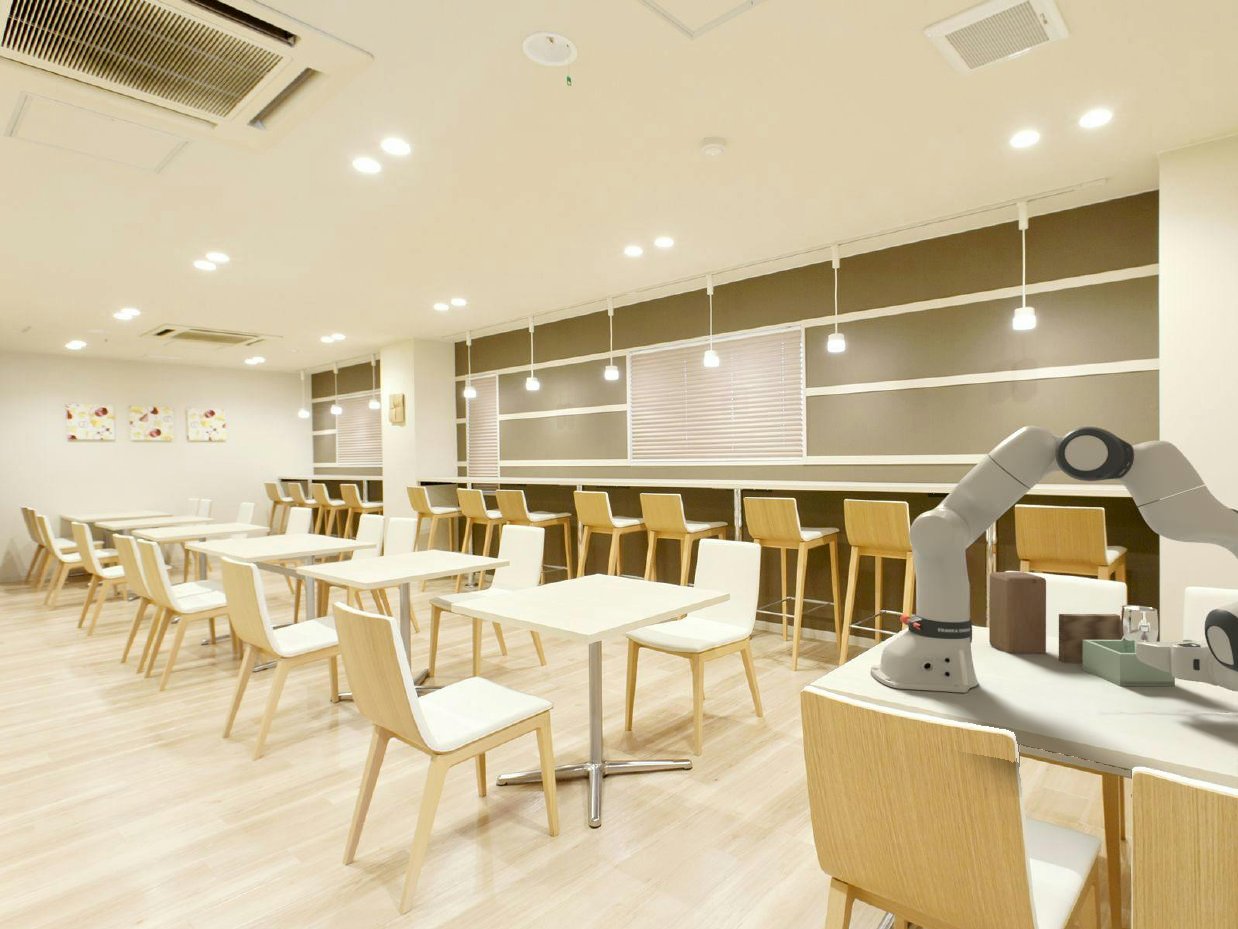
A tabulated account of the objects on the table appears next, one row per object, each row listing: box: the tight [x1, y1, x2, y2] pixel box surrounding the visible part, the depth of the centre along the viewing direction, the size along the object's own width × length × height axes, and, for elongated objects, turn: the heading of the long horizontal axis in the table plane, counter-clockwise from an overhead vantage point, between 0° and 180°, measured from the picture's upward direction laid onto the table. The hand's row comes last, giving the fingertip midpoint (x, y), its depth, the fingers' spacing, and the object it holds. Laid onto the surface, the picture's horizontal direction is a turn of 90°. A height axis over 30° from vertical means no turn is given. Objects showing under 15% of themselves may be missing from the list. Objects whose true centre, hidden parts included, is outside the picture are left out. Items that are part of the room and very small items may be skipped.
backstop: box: [1058, 613, 1121, 664], centre depth 156 cm, size 14×20×12 cm
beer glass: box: [1119, 604, 1159, 653], centre depth 152 cm, size 7×7×15 cm
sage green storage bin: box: [1082, 640, 1176, 687], centre depth 153 cm, size 12×12×7 cm
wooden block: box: [988, 571, 1047, 655], centre depth 177 cm, size 10×10×20 cm
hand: (1164, 643), depth 143 cm, fingers open, 8 cm apart
